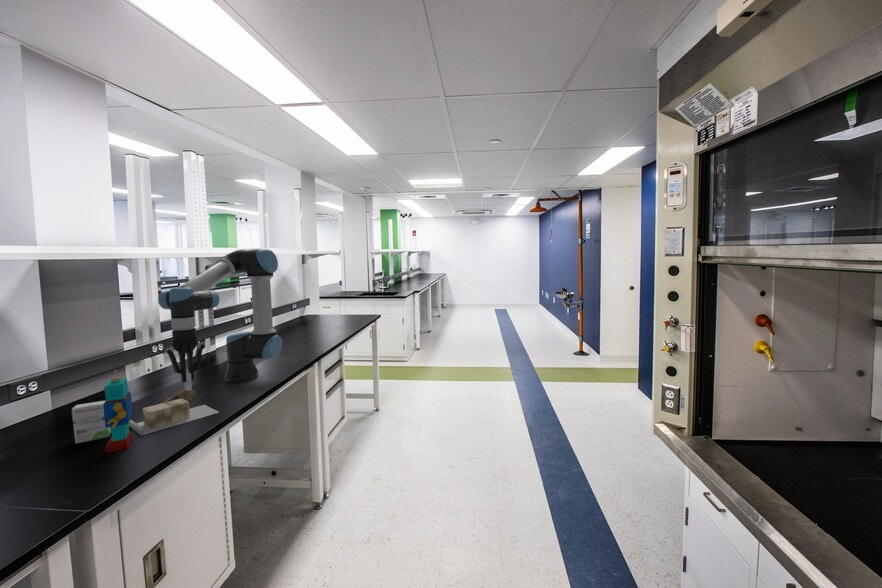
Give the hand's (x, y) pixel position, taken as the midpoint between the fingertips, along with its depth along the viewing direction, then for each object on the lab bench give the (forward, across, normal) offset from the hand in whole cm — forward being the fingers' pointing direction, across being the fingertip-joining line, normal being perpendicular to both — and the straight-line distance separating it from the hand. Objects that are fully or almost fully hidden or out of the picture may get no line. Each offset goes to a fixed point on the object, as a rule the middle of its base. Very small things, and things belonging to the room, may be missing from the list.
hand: (188, 389), depth 149 cm
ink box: (+10, +27, -5) cm, 30 cm away
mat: (+10, +5, 0) cm, 11 cm away
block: (+7, +1, 0) cm, 7 cm away
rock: (+11, -2, -20) cm, 23 cm away
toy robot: (+10, +23, +10) cm, 27 cm away
